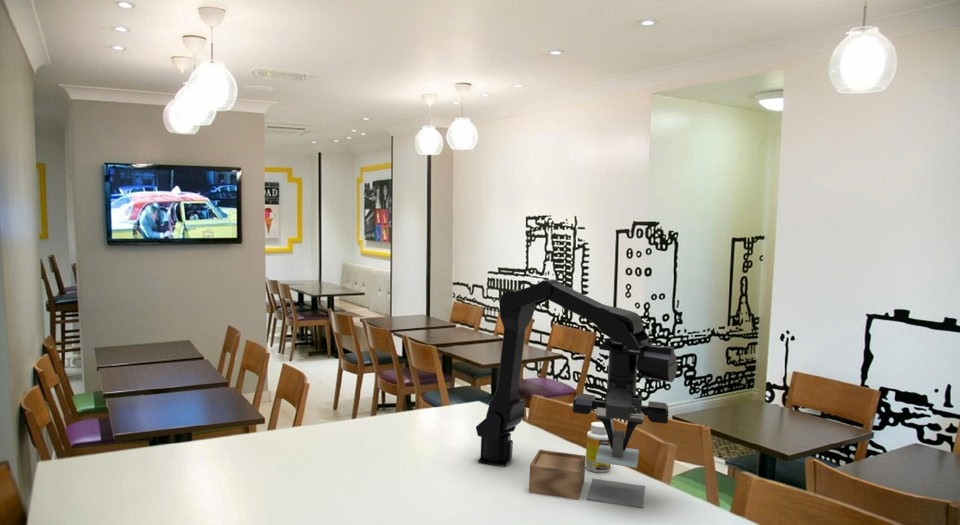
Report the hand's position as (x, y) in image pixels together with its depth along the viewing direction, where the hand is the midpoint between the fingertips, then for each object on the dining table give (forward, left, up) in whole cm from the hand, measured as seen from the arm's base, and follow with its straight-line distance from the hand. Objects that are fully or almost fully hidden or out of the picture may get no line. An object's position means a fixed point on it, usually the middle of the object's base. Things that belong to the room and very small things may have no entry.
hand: (618, 449), depth 134 cm
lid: (0, 0, -2) cm, 2 cm away
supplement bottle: (-5, +12, -9) cm, 16 cm away
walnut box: (-12, -1, -9) cm, 15 cm away
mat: (0, 0, -9) cm, 9 cm away
